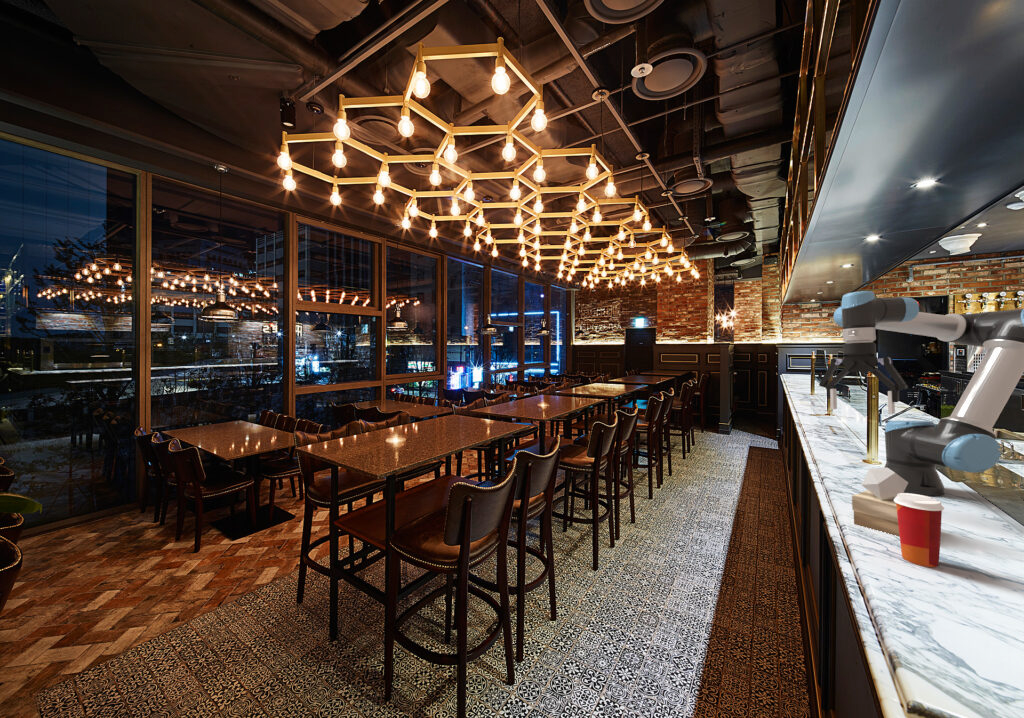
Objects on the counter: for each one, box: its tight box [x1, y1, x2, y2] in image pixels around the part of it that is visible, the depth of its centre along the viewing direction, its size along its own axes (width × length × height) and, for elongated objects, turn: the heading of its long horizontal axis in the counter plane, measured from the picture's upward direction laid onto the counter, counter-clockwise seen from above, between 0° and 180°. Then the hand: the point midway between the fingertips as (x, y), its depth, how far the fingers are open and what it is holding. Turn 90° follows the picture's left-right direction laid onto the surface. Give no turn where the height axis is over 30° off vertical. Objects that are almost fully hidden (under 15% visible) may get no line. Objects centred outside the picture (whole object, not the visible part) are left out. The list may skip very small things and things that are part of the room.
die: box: [860, 467, 908, 500], centre depth 102 cm, size 8×9×10 cm
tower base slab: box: [853, 510, 900, 538], centre depth 102 cm, size 11×11×4 cm
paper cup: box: [894, 492, 945, 569], centre depth 85 cm, size 8×8×14 cm
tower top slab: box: [851, 489, 898, 523], centre depth 102 cm, size 11×11×4 cm
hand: (861, 411), depth 117 cm, fingers open, 13 cm apart
